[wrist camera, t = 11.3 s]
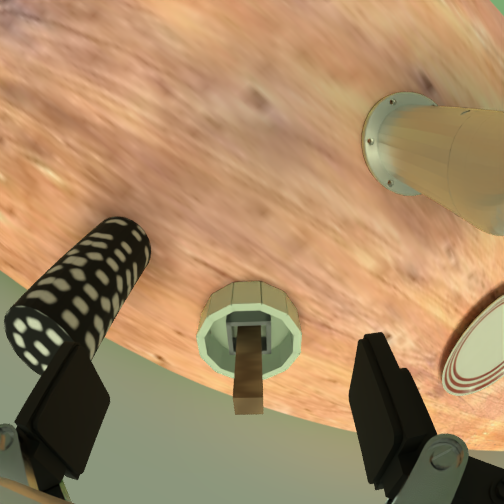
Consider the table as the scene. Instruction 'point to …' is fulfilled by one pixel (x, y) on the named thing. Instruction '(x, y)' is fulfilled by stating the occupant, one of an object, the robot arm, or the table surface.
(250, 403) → the wooden rectangular post
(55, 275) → the white-spotted black cylinder
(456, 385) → the dinner plate
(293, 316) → the green faceted socket ring
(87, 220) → the table surface
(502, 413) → the table surface
